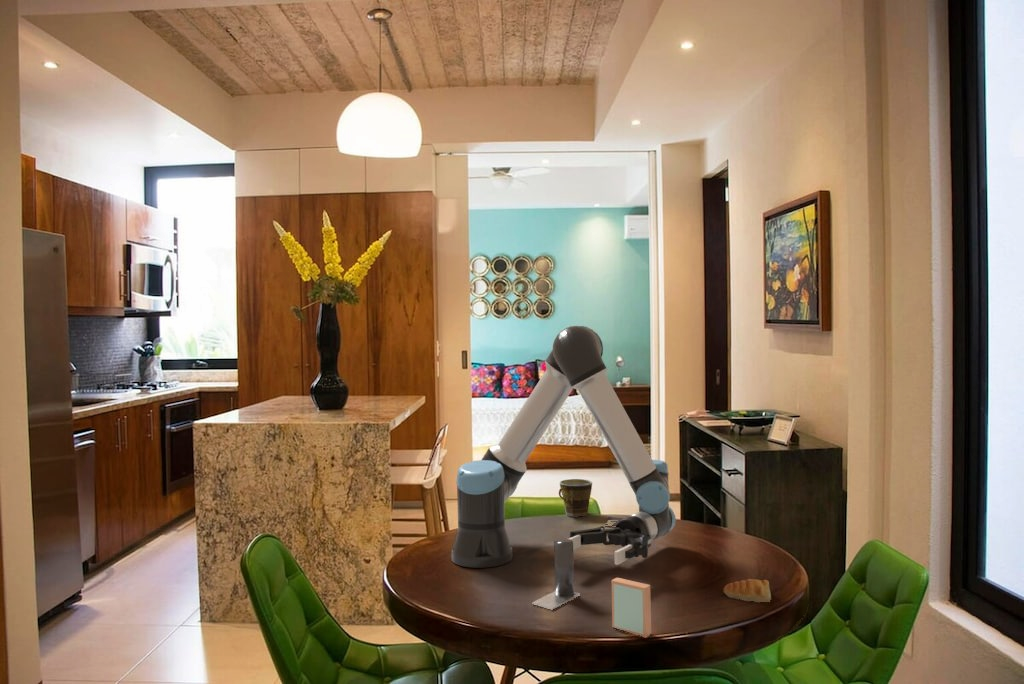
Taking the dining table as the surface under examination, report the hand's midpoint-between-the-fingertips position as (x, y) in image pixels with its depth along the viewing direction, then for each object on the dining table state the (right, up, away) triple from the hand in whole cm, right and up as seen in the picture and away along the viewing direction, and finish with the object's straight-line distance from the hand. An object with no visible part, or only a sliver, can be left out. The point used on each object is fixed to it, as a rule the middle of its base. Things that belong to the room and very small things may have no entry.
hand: (588, 552), depth 154 cm
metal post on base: (-8, -7, -9) cm, 14 cm away
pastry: (+33, -7, -9) cm, 35 cm away
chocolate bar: (+19, -7, +48) cm, 53 cm away
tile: (+5, -7, -25) cm, 26 cm away
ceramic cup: (+2, -7, +60) cm, 60 cm away
